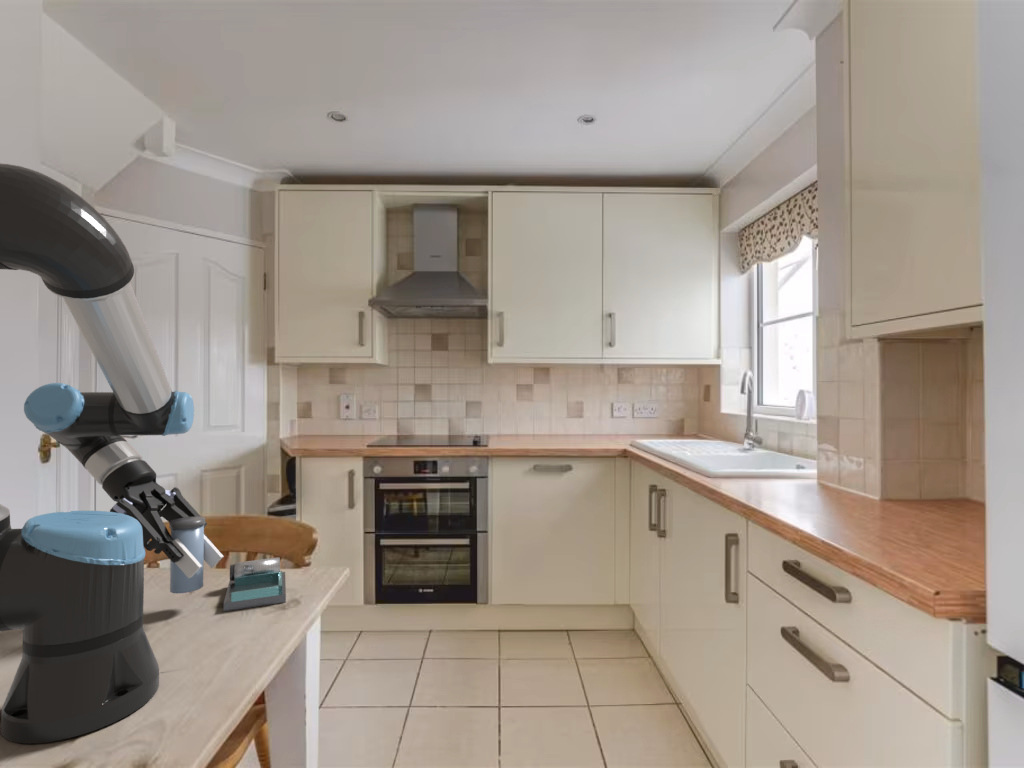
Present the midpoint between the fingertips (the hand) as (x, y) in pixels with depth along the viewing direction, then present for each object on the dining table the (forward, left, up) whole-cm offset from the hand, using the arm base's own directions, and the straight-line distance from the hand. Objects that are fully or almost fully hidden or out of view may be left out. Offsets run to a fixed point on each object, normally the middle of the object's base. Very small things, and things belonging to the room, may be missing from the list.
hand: (206, 566), depth 92 cm
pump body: (+2, +3, -4) cm, 5 cm away
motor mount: (+5, -8, -8) cm, 12 cm away
